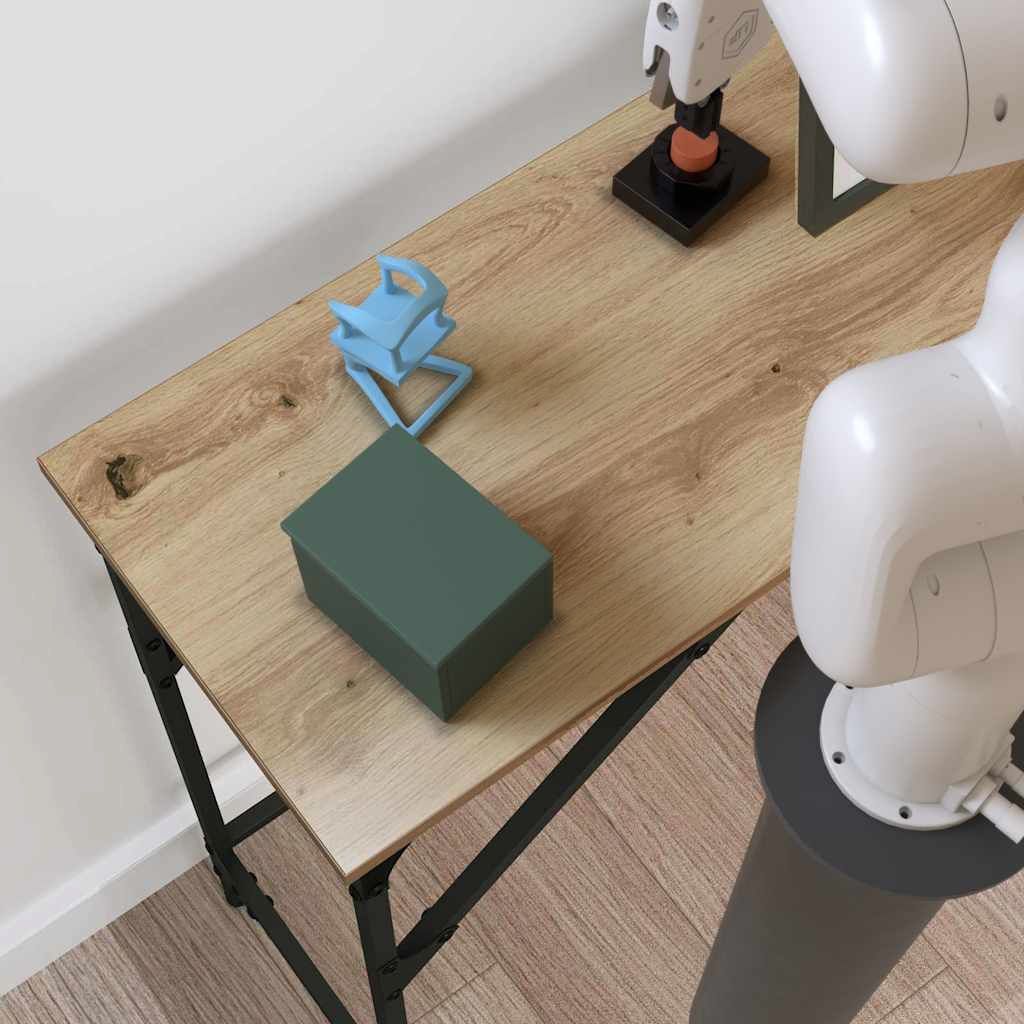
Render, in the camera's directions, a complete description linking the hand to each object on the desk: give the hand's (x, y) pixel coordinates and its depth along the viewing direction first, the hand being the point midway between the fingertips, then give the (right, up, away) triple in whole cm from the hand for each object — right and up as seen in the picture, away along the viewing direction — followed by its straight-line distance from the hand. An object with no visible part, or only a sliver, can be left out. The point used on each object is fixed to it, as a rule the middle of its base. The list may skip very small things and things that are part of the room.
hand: (696, 124), depth 124 cm
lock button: (0, -2, +3) cm, 3 cm away
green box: (-20, -37, -12) cm, 43 cm away
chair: (-23, -20, -3) cm, 30 cm away
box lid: (-20, -32, -20) cm, 43 cm away
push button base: (0, -4, +6) cm, 7 cm away
